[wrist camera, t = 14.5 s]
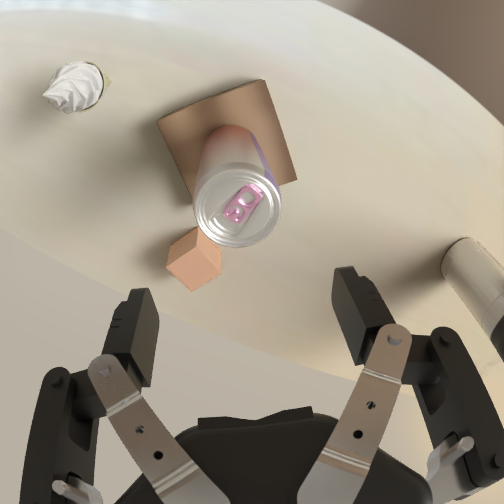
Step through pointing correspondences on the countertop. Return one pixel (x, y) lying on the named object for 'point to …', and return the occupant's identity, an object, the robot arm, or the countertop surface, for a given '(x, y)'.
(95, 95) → the ice cream cone
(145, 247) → the countertop surface
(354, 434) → the robot arm
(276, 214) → the beverage can
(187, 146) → the pedestal
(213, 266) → the terracotta cube
